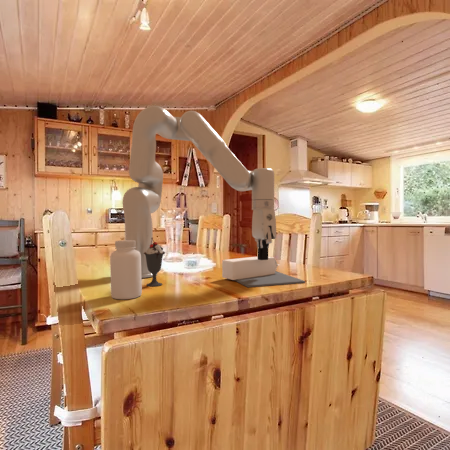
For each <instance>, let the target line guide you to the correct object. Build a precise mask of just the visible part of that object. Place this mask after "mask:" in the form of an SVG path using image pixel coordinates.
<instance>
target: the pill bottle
mask: <svg viewBox="0 0 450 450" xmlns="http://www.w3.org/2000/svg"><path fill="white" fill-rule="evenodd" d="M135 246H136V241H135V240H125V239H123V240H115V241H114V247H115V251H113V252H112V253H110V257H109V260H110V261H109V263H110V266H109V267H110V269H109V270H110V295H111V298H112V299H115V300H129V299H131V300H132V299H136V298H139V297H141V295H142V293H143V292H142V291H143V287H142V284H143V283H142V279H143V278H141V254H140V252H139V251H137V250H135V248H136V247H135Z"/></svg>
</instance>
